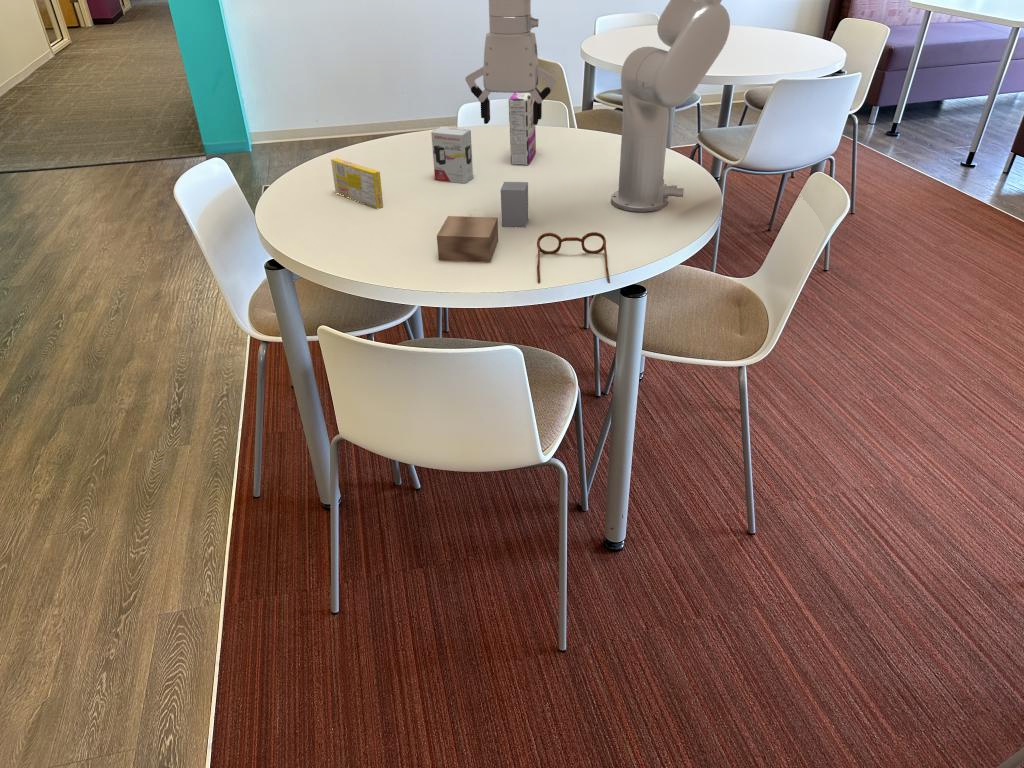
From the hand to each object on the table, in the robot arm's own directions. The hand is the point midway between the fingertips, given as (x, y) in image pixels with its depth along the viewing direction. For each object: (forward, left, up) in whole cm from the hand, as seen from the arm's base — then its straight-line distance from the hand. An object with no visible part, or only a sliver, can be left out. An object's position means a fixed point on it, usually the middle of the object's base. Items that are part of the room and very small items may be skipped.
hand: (511, 122), depth 140 cm
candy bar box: (+4, -44, -21) cm, 49 cm away
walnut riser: (+7, +15, -21) cm, 26 cm away
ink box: (+19, -27, -21) cm, 39 cm away
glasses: (-14, +21, -21) cm, 33 cm away
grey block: (0, 0, -21) cm, 21 cm away
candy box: (+38, -11, -21) cm, 45 cm away
